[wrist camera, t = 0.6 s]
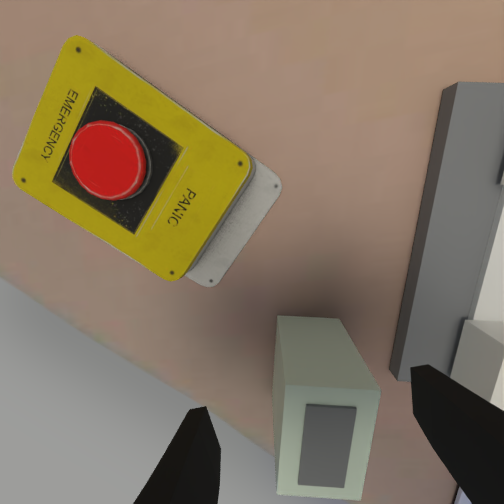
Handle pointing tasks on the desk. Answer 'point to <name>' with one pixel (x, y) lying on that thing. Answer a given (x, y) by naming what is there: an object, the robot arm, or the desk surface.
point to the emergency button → (141, 169)
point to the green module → (321, 409)
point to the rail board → (459, 249)
